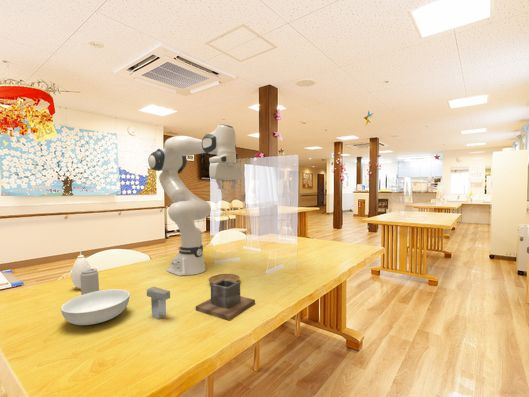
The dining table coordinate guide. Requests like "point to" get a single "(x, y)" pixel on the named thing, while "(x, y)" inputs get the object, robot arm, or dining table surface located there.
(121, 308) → the serving bowl
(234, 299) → the square pot on base
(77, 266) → the sauce bottle
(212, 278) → the plant saucer
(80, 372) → the dining table surface
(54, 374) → the dining table surface
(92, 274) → the beverage can
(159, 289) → the grey t-shaped peg
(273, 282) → the dining table surface
